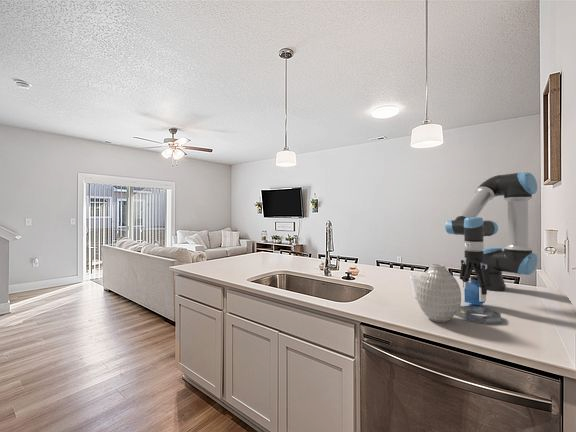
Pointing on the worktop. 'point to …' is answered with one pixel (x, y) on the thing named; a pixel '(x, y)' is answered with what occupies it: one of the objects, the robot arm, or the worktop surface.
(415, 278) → the cup
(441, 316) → the vase
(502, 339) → the worktop surface
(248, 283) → the worktop surface
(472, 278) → the perfume bottle
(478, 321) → the ring
